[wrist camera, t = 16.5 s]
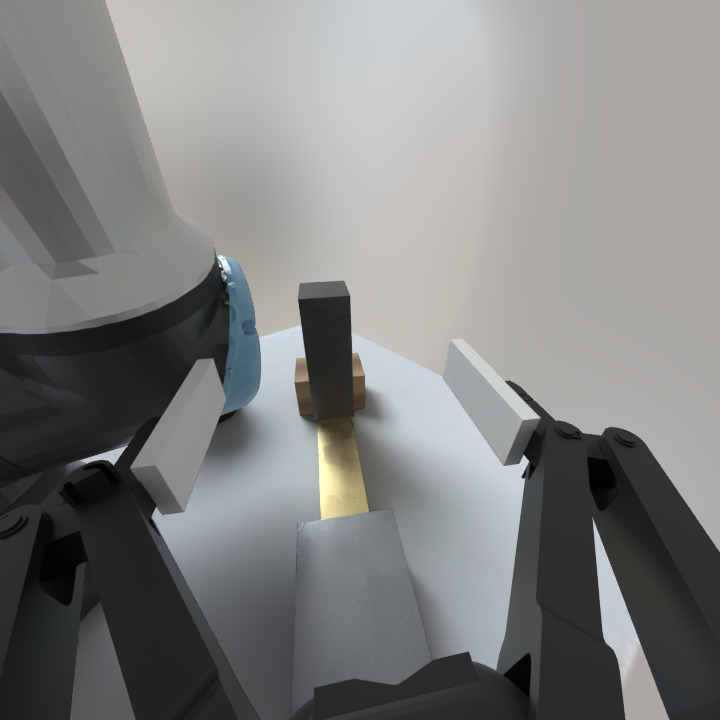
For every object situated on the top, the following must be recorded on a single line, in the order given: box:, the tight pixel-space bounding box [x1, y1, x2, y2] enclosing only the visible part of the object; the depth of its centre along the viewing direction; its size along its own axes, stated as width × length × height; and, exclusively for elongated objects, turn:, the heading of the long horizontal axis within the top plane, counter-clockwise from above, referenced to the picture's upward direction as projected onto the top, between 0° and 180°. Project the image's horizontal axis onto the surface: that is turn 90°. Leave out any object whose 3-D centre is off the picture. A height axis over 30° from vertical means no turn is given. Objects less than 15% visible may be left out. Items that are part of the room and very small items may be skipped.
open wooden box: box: [295, 353, 365, 415], centre depth 40 cm, size 6×9×6 cm, turn 99°
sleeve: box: [291, 508, 432, 717], centre depth 16 cm, size 14×7×6 cm, turn 9°
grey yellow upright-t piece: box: [298, 281, 369, 520], centre depth 27 cm, size 24×4×17 cm, turn 9°
